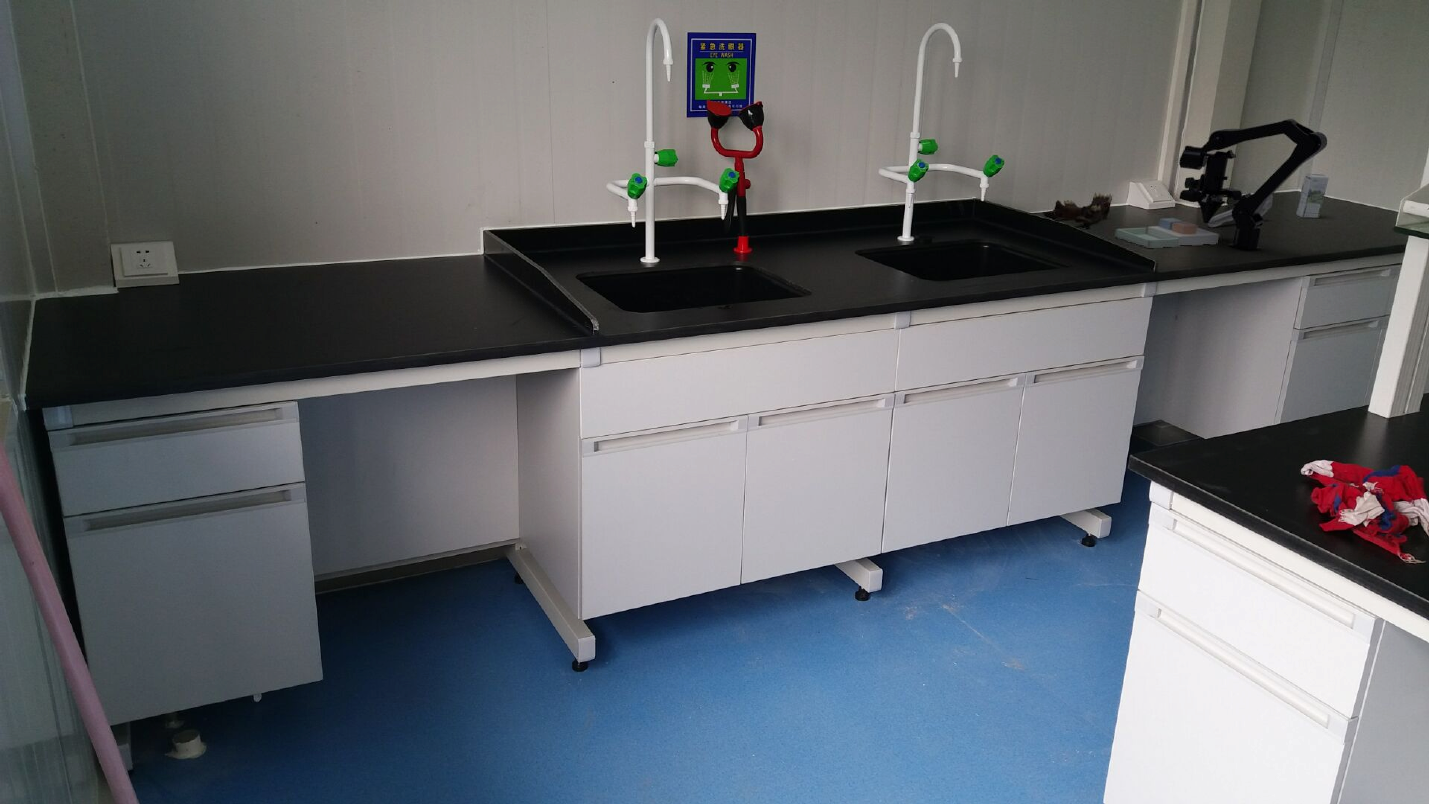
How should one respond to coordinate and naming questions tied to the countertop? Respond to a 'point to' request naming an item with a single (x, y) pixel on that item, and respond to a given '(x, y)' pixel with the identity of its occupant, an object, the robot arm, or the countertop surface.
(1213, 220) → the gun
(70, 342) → the countertop surface
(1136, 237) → the tray
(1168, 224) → the slate blue tile
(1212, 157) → the robot arm
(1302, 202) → the syrup box
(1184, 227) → the terracotta tile
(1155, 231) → the plate
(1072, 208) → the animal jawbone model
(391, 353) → the countertop surface
